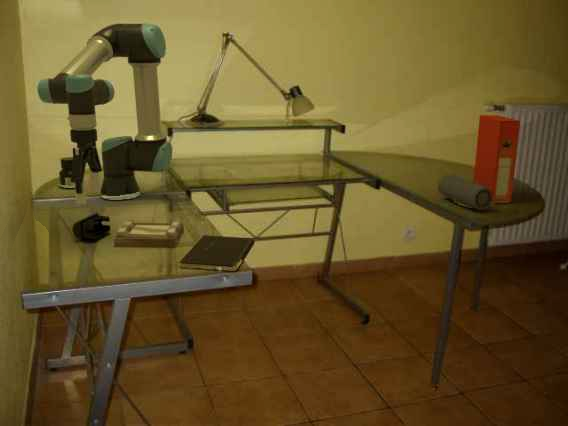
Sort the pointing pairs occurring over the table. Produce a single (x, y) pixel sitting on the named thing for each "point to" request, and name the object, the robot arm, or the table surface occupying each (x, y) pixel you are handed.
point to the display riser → (148, 234)
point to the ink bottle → (66, 171)
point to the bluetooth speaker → (465, 192)
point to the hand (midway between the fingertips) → (88, 198)
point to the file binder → (496, 155)
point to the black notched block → (91, 228)
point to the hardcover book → (217, 252)
